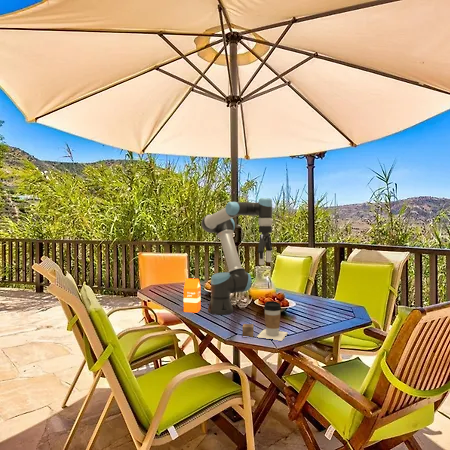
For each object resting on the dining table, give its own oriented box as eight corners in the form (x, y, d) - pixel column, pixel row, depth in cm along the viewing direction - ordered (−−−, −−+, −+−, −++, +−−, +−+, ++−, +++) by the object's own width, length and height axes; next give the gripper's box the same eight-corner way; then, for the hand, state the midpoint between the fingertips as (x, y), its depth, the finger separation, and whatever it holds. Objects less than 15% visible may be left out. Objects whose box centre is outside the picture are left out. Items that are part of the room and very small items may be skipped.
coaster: (256, 338, 156) (256, 336, 156) (264, 330, 167) (264, 329, 167) (281, 342, 152) (281, 340, 152) (287, 333, 163) (287, 332, 163)
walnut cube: (242, 337, 158) (242, 326, 158) (243, 333, 163) (243, 323, 163) (253, 337, 157) (253, 327, 157) (253, 334, 162) (253, 324, 162)
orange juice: (197, 312, 201) (197, 279, 201) (183, 311, 203) (183, 279, 202) (200, 309, 208) (200, 277, 208) (187, 308, 210) (187, 277, 210)
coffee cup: (279, 331, 164) (279, 301, 164) (282, 337, 156) (282, 305, 156) (262, 331, 164) (262, 301, 164) (265, 337, 156) (265, 305, 155)
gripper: (265, 225, 173) (265, 266, 174) (277, 225, 196) (277, 261, 196) (251, 225, 176) (251, 265, 177) (265, 225, 199) (265, 260, 199)
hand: (265, 263), depth 187 cm, fingers open, 13 cm apart
